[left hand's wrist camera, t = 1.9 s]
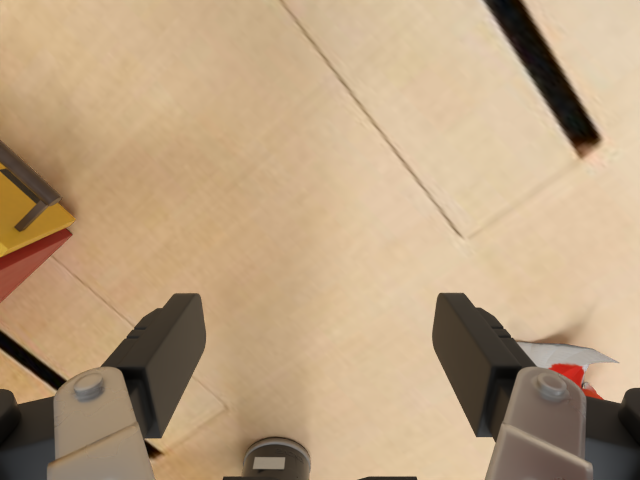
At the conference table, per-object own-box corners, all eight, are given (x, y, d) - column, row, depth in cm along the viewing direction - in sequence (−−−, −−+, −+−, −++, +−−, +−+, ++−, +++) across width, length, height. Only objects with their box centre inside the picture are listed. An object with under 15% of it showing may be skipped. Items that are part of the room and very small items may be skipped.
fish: (544, 466, 42) (615, 514, 32) (466, 356, 44) (512, 370, 35) (606, 414, 44) (692, 445, 34) (528, 310, 46) (588, 311, 36)
